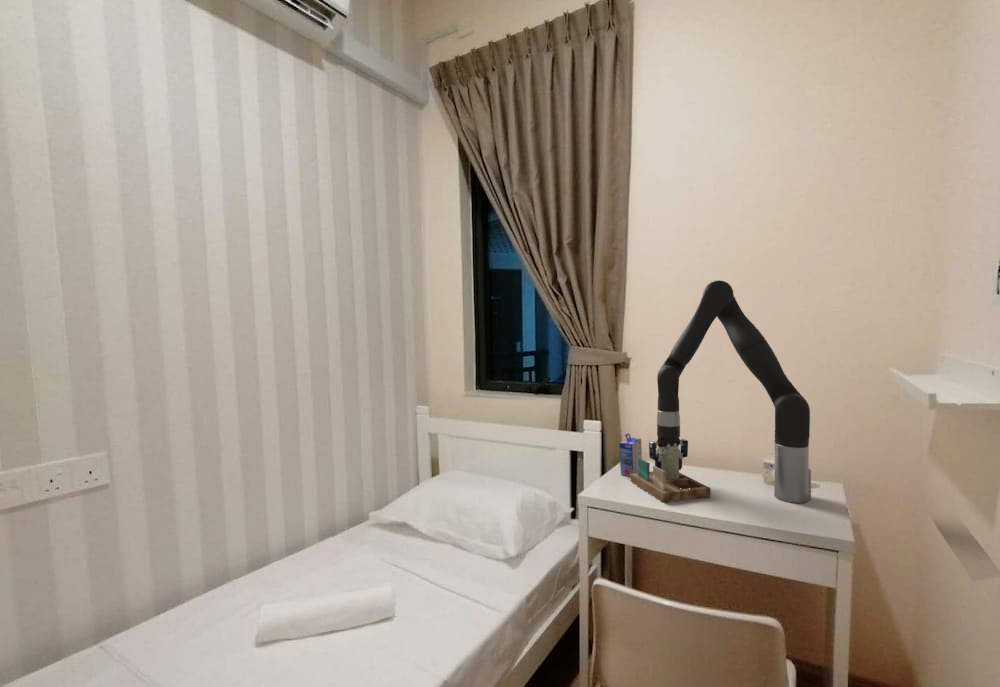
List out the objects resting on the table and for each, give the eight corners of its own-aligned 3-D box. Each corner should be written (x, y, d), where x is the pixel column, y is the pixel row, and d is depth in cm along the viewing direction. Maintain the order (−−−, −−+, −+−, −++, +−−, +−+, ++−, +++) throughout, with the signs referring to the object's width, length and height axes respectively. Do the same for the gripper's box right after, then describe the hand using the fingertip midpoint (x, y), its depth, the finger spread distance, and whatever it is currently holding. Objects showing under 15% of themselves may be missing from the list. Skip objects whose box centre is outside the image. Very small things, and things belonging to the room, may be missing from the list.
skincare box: (676, 477, 172) (676, 443, 171) (679, 481, 167) (679, 446, 167) (657, 477, 172) (657, 443, 172) (660, 481, 168) (660, 446, 167)
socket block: (673, 477, 176) (673, 452, 176) (710, 497, 157) (710, 469, 156) (630, 482, 172) (630, 456, 172) (663, 502, 153) (663, 474, 152)
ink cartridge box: (628, 468, 189) (628, 431, 188) (642, 470, 186) (642, 432, 185) (619, 474, 181) (619, 436, 180) (633, 477, 178) (633, 438, 177)
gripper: (655, 427, 163) (656, 475, 164) (693, 424, 167) (693, 471, 168) (644, 422, 171) (644, 469, 172) (680, 419, 174) (680, 465, 175)
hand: (668, 470), depth 170 cm, fingers closed on skincare box, 7 cm apart
